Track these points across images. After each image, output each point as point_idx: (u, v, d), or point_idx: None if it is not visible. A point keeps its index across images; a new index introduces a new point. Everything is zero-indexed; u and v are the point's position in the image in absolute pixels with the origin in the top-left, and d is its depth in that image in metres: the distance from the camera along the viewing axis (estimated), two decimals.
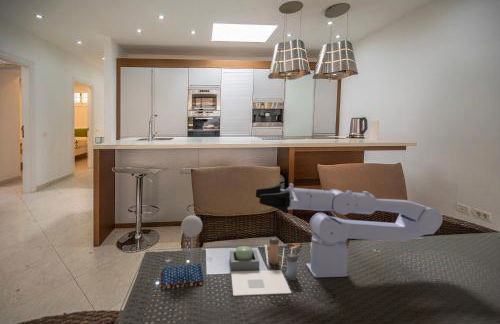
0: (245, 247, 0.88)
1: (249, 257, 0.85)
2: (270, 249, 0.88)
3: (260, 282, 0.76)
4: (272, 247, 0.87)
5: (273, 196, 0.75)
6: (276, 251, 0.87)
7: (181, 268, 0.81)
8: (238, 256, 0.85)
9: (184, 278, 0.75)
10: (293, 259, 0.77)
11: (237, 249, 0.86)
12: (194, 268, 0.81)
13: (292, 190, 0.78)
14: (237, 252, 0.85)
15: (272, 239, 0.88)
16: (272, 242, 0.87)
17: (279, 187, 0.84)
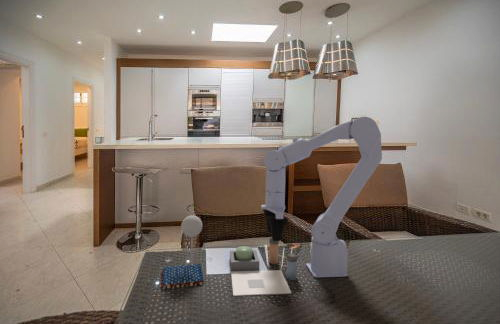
0: (245, 247, 0.88)
1: (249, 257, 0.85)
2: (270, 249, 0.88)
3: (260, 282, 0.76)
4: (273, 248, 0.87)
5: (273, 229, 0.83)
6: (276, 251, 0.87)
7: (181, 268, 0.81)
8: (238, 256, 0.85)
9: (184, 278, 0.75)
10: (293, 259, 0.77)
11: (237, 249, 0.86)
12: (194, 268, 0.81)
13: (267, 208, 0.85)
14: (237, 252, 0.85)
15: (272, 239, 0.88)
16: (272, 242, 0.87)
17: (265, 211, 0.91)
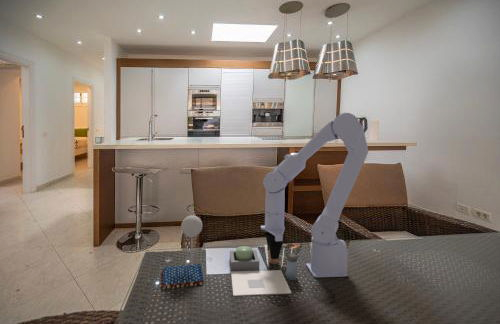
0: (245, 247, 0.88)
1: (249, 257, 0.85)
2: None
3: (260, 282, 0.76)
4: None
5: (271, 248, 0.86)
6: None
7: (181, 268, 0.81)
8: (238, 256, 0.85)
9: (184, 278, 0.75)
10: (293, 259, 0.77)
11: (237, 249, 0.86)
12: (194, 268, 0.81)
13: (267, 230, 0.86)
14: (237, 252, 0.85)
15: None
16: None
17: (266, 233, 0.90)
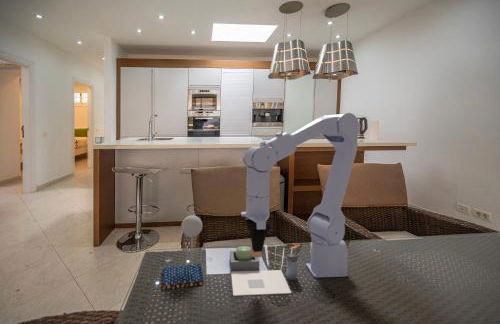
0: (245, 247, 0.88)
1: (249, 257, 0.85)
2: None
3: (260, 282, 0.76)
4: None
5: (253, 239, 0.72)
6: None
7: (181, 268, 0.81)
8: (238, 256, 0.85)
9: (184, 278, 0.75)
10: (293, 259, 0.77)
11: (237, 249, 0.86)
12: (194, 268, 0.81)
13: (248, 216, 0.71)
14: (237, 252, 0.85)
15: None
16: None
17: (248, 221, 0.75)
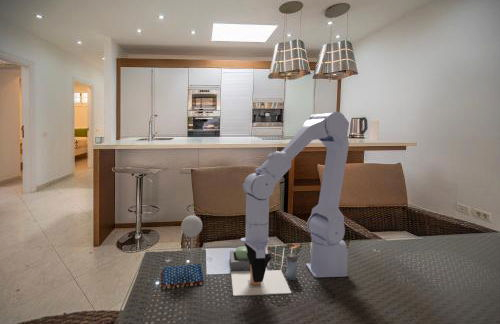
0: (245, 247, 0.88)
1: None
2: (251, 269, 0.74)
3: None
4: None
5: (254, 269, 0.70)
6: None
7: (181, 268, 0.81)
8: (238, 256, 0.85)
9: (184, 278, 0.75)
10: (293, 259, 0.77)
11: (237, 249, 0.86)
12: (194, 268, 0.81)
13: (247, 243, 0.72)
14: (237, 252, 0.85)
15: None
16: None
17: (246, 244, 0.78)
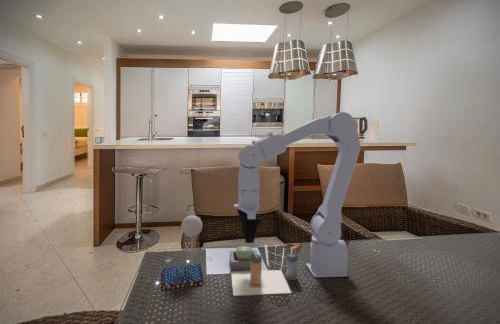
0: (245, 247, 0.88)
1: (249, 257, 0.85)
2: (251, 269, 0.74)
3: None
4: (254, 267, 0.73)
5: (245, 231, 0.77)
6: (259, 271, 0.74)
7: (181, 268, 0.81)
8: (238, 256, 0.85)
9: (184, 278, 0.75)
10: (293, 259, 0.77)
11: (237, 249, 0.86)
12: (194, 268, 0.81)
13: (239, 208, 0.79)
14: (237, 252, 0.85)
15: (254, 257, 0.74)
16: (254, 261, 0.73)
17: (239, 211, 0.85)
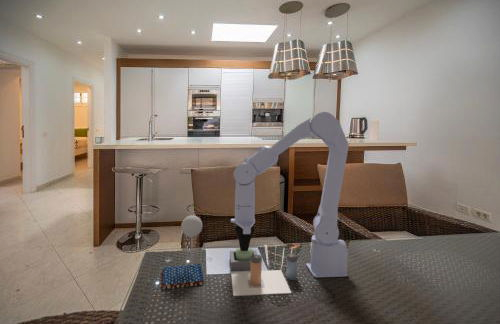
0: None
1: (249, 257, 0.85)
2: (252, 269, 0.74)
3: None
4: (254, 267, 0.73)
5: (240, 240, 0.85)
6: (259, 271, 0.74)
7: (181, 268, 0.81)
8: (238, 256, 0.85)
9: (184, 278, 0.75)
10: (293, 259, 0.77)
11: (237, 250, 0.86)
12: (194, 268, 0.81)
13: (236, 223, 0.84)
14: (237, 253, 0.85)
15: (254, 257, 0.74)
16: (254, 261, 0.73)
17: None
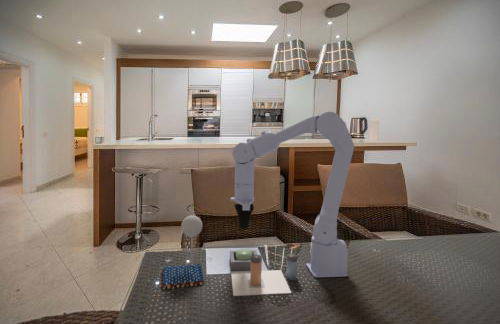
0: (245, 250, 0.88)
1: None
2: (251, 269, 0.74)
3: None
4: (254, 267, 0.73)
5: (240, 218, 0.88)
6: (259, 271, 0.74)
7: (181, 268, 0.81)
8: (238, 259, 0.85)
9: (184, 278, 0.75)
10: (293, 259, 0.77)
11: (237, 252, 0.86)
12: (194, 268, 0.81)
13: (236, 200, 0.86)
14: (237, 255, 0.85)
15: (254, 257, 0.74)
16: (254, 261, 0.73)
17: None
